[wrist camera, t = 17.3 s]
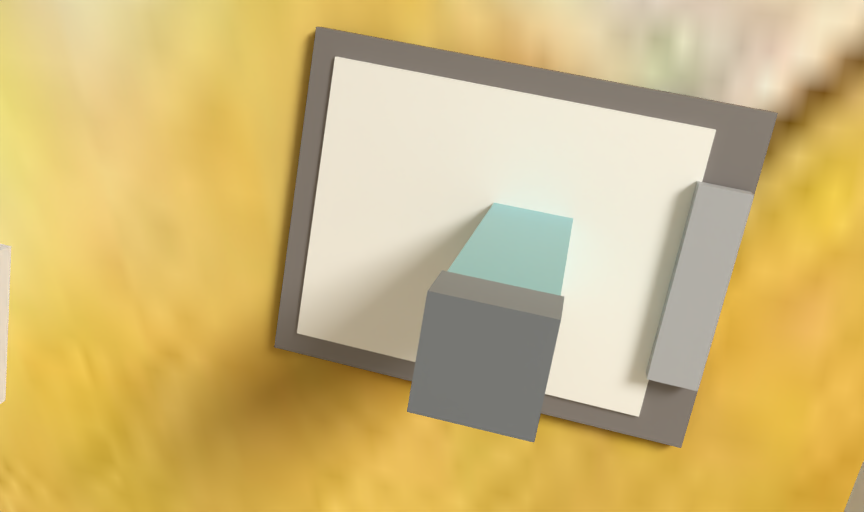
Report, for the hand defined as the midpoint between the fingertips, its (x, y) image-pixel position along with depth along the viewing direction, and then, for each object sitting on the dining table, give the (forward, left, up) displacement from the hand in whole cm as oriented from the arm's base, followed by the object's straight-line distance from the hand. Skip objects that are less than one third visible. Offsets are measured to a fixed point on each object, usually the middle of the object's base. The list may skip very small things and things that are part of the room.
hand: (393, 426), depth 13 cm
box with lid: (+1, -2, -22) cm, 22 cm away
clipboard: (0, -2, -22) cm, 22 cm away
